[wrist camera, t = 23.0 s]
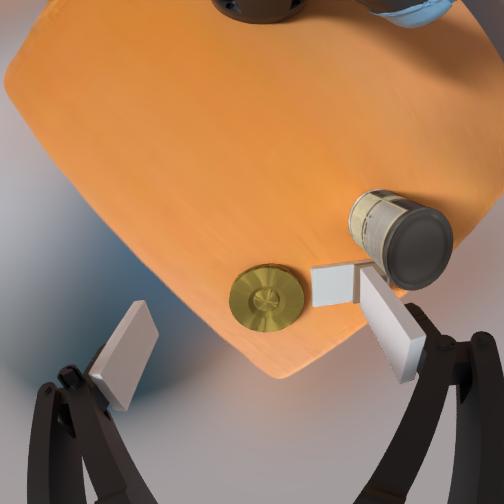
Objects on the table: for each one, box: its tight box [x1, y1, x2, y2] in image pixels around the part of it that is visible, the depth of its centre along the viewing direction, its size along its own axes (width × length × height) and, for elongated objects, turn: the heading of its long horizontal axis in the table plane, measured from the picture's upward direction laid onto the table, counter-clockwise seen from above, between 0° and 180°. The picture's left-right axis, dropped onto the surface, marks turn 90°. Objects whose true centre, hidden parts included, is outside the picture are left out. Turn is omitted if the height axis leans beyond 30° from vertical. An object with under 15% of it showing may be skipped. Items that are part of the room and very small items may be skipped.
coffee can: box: [348, 189, 453, 291], centre depth 34 cm, size 10×10×14 cm
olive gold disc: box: [229, 263, 304, 332], centre depth 45 cm, size 12×12×2 cm
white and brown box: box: [311, 259, 390, 307], centre depth 44 cm, size 7×14×2 cm, turn 97°
